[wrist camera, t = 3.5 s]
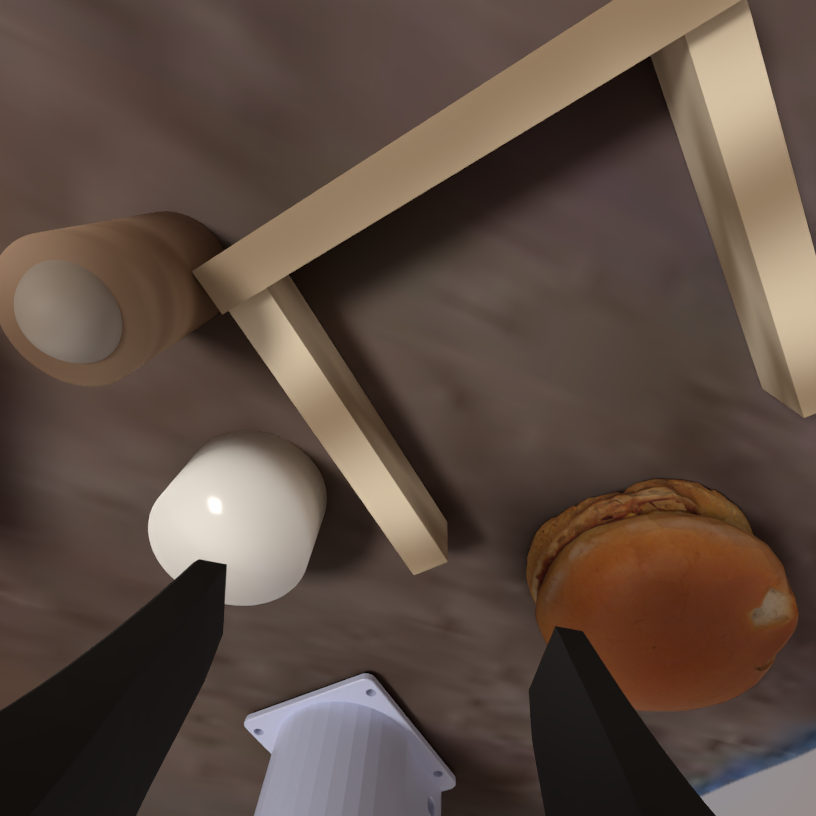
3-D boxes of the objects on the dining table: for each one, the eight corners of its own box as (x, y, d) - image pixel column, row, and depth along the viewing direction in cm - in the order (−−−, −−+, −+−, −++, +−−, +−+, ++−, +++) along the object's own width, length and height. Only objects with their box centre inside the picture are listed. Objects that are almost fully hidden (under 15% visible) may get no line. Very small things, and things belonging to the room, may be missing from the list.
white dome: (353, 516, 23) (340, 572, 20) (244, 565, 25) (215, 624, 22) (274, 404, 21) (244, 447, 18) (160, 466, 23) (114, 515, 20)
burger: (482, 567, 24) (491, 654, 20) (646, 426, 21) (699, 494, 17) (631, 674, 26) (668, 772, 22) (801, 562, 23) (883, 652, 19)
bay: (805, 370, 19) (865, 404, 17) (416, 535, 23) (413, 584, 21) (684, -36, 15) (738, -81, 12) (228, 255, 19) (192, 271, 16)
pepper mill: (253, 292, 19) (161, 356, 13) (169, 344, 20) (45, 426, 14) (183, 188, 18) (41, 202, 12) (97, 248, 19) (-77, 291, 13)
